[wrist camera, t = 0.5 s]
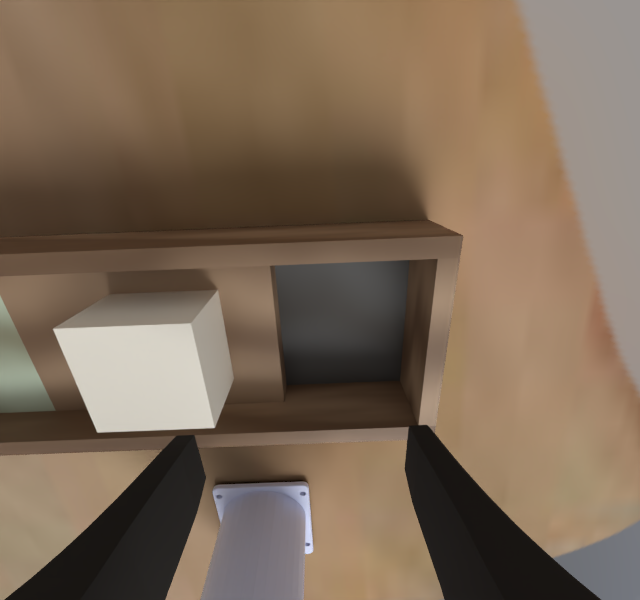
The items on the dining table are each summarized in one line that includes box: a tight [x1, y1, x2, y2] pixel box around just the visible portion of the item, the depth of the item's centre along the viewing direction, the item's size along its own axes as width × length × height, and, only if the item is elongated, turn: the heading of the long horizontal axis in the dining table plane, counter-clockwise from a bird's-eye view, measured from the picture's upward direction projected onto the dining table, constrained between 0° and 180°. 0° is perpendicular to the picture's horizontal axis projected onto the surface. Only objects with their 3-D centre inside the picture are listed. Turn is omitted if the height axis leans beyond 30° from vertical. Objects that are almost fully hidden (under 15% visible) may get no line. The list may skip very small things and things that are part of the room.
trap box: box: [0, 220, 463, 456], centre depth 18 cm, size 12×32×4 cm, turn 92°
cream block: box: [53, 290, 234, 433], centre depth 16 cm, size 6×6×4 cm
